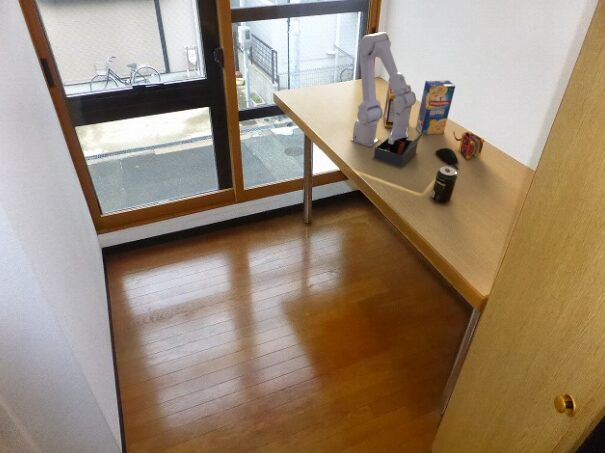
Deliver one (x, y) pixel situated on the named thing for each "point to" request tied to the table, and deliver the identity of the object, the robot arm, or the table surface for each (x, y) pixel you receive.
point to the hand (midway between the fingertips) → (395, 153)
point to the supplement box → (390, 108)
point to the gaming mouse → (447, 156)
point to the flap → (414, 142)
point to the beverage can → (444, 185)
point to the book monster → (470, 144)
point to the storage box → (391, 157)
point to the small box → (400, 148)
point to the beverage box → (435, 106)
